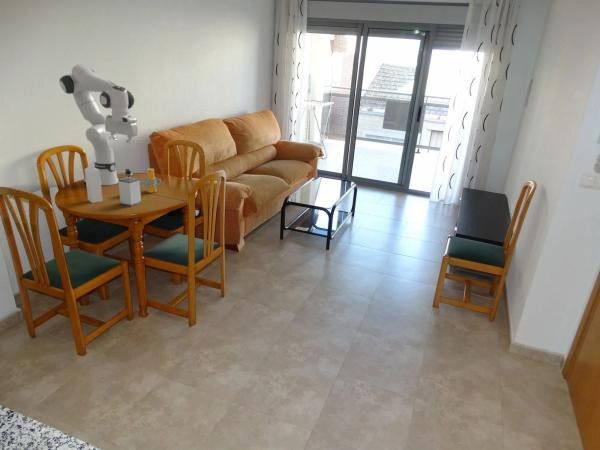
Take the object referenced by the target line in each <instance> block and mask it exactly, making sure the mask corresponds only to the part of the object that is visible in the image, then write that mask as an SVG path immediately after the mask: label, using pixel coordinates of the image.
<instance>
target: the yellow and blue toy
mask: <svg viewBox="0 0 600 450" xmlns="http://www.w3.org/2000/svg"><path fill="white" fill-rule="evenodd" d="M146 170H147V178H143V179H142V180H140V184H142V186H146V192H147V193H148V194H149V193H150V194H151V193H152V194H154V193H157V192H158V188H157V187H158V186H159V185H161V184H162V180H161V179H160V178H157V177H156V176H155V168H152V167H151V168H149V167H148V168H147V169H146ZM144 181H145V182H146V183H143V182H144ZM158 181H159V183H157V182H158Z"/></svg>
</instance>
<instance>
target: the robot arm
mask: <svg viewBox="0 0 600 450" xmlns="http://www.w3.org/2000/svg"><path fill="white" fill-rule="evenodd" d="M58 81H59V86H60V88H61V89H62V91H63V92H64V93H65V94H69V95H71V94H72V96H73V99H74V101H75V104H76V105H77V107H78V109H79V112H80V113H81V115H82V116H83V118H84V120H86V121H87V122H89V124H91V126H90V127H89V128H87V129H86V131H85V137H86V139H87V141H89V142H90V143H91V145H92V148H93V149H94V154H95V155H94V156H95V162H94V163H92V165H93V167H94V168H95V169H97V170H99V173H100V182H101V186H113V185H116V184H119V182H118V179H119V178H118V174H117V169H116V161H115V153H114V150H113V148H111V146H110V143H109V141H110V140H113V141H115V142H116V141H118V137H117V136H118V135H124V136H126V137H127V139H126V140H125V141H126V142H125V143H127V144H131V142H132V141H131V140H132V139H133V138H134V137H137V136H138V135H139V131H138V130H139V129H138V124H137V119H138V118H136V117H135V116H133V115H132V114H130V112H129V110H130V109H131V108H132V107H133V106H134V104H135V97H134V95H133V94H132V92H131V91H129V90H127V89H126V87H123V86H119V85H116V84H115V83H113V82H112V81H110V80H108V79H106V78H104V77H102V76H100V75H99V74H98V73H96V72H95V71H94V70H93V69H90V68H89V67H88V66H86V65H83V64H76V65H74V66H73V67H72V68H71V72H70V73H69V74H65V75H62V76H61V77H60V78H59V80H58ZM92 92H93V93H95V92H96V93H100V95H99V102H100V105H101V106H102V107H103V108H105V109H108V110H111V115H110V114H107V115H106V116H105V115H104V114H103V112H102V111H101V108H100V106H99V104H97V102H96V99H95V98H94V96H93V95H92ZM83 182H84V183H86V178H85V179H84V180H83Z"/></svg>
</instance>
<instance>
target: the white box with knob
mask: <svg viewBox="0 0 600 450" xmlns="http://www.w3.org/2000/svg"><path fill="white" fill-rule="evenodd" d="M118 182H119V183H118V190H119V200H120V201H119V202H120V205H122V206H127V207H134V206H137V205H140V204H141V203H142V199H141V197H142V191H141V190H142V187H141V179H140V178H137V177H132V176H130V179H129V180H128V176H125V177H122V178H118Z"/></svg>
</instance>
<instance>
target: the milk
mask: <svg viewBox="0 0 600 450" xmlns="http://www.w3.org/2000/svg"><path fill="white" fill-rule="evenodd" d="M94 167H95V166H94V165H93V164H91V163H88V166H87V167H86V168H85V169H84V176H85V179H86V182H85V183H86V184H85V185H86V186H85V187H86V193H87V194H86V195H87V200H88V201H89V202H90V203H92V204H94V203H100V202H103V193H102V185H101V182H100V173H99V170H97V169H95V168H94Z"/></svg>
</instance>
